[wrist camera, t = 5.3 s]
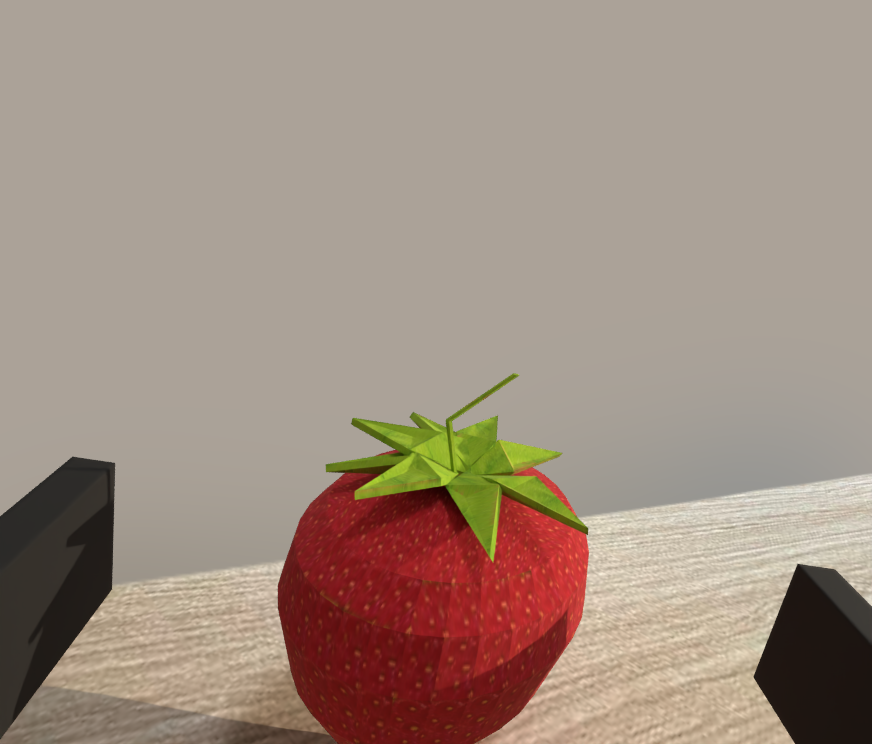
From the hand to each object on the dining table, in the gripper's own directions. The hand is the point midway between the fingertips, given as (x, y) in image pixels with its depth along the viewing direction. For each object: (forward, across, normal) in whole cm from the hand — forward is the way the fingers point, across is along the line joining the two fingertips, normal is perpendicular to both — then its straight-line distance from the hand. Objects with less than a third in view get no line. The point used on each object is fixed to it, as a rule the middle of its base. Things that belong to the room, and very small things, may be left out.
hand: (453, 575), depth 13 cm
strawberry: (+1, 0, -6) cm, 6 cm away
